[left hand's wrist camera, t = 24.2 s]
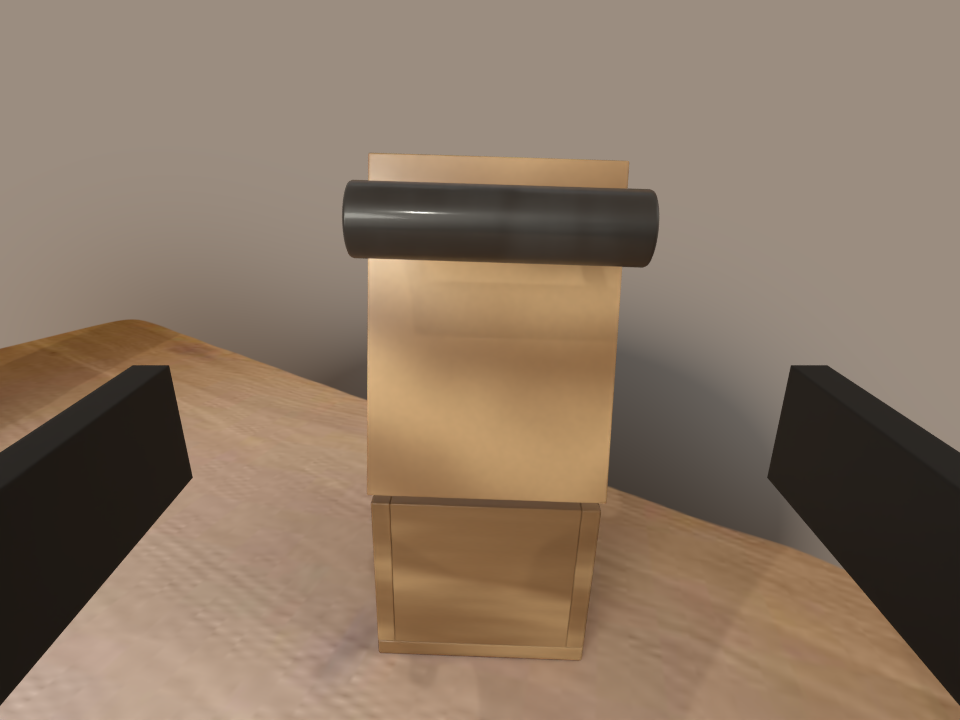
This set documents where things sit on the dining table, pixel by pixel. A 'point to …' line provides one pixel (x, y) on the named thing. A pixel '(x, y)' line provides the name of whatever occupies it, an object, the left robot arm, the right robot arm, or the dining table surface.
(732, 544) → the dining table surface
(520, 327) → the lid
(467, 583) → the chest
